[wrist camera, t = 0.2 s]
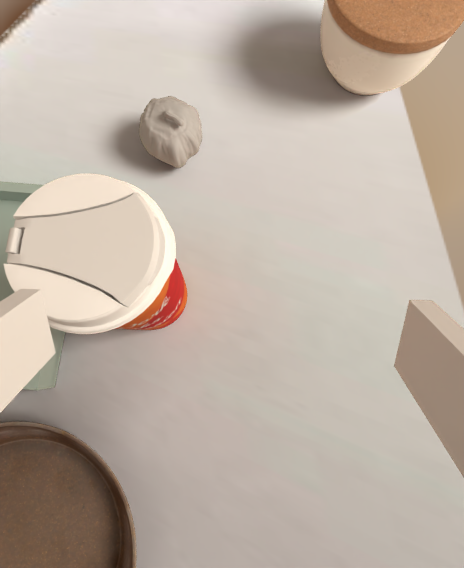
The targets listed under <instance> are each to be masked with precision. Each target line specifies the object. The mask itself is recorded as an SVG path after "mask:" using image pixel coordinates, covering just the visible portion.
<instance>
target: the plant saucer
mask: <svg viewBox="0 0 464 568" xmlns="http://www.w3.org/2000/svg"><path fill="white" fill-rule="evenodd" d="M0 568H136V536H135V528H134V523H133V518H132V514H131V510H130V507H129V504H128V501H127V498H126V496H125V494H124V491H123V489H122V487H121V485H120V483H119V482H118V480H117V478H116V476H115V475H114V473H113V472H112V470H111V469H110V468H109V466H108V465H107V464H106V463H105V461H104V460H103V459H102V458H101V457H100V456H99V455H98V454H97V453H96V452H95V451H94V450H93V449H92V448H91V447H89V446H88V445H87V444H86V443H84V442H83V441H81V440H80V439H78V438H77V437H75V436H74V435H72V434H70V433H68V432H66V431H63V430H61V429H58V428H56V427H52V426H49V425H44V424H39V423H34V422H4V423H0Z"/></svg>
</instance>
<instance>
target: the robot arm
mask: <svg viewBox="0 0 464 568" xmlns="http://www.w3.org/2000/svg"><path fill="white" fill-rule="evenodd" d="M55 353H56V352H55V347H54V343H53V339H52V335H51V331H50V326H49V322H48V318H47V314H46V310H45V305H44V301H43V297H42V293H41V289H19V290H18V291H16V292H14V293H13V294H11V295H10V296H8V297H7V298H5V299H4V300H2V301H0V413H1V412H2V410H3V409H4V408H5V407H6V406H7V405H8V404H9V403H10V402H11V401H12V400H13V399H14V397H15V396H16V395H17V394H18V393H19V392H20V391H21V390H22V389H23V388H24V387H25V386H26V384H27V383H28V382H29V381H30V380H31V379H32V378H33V377H34V376H35V375H36V374H37V373H38V371H39V370H40V369H41V368H42V367H43V366H44V365H45V364H46V363H47V362H48V361H49V360H50V358H51V357H52V356H53V355H54V354H55ZM394 366H395V368H396V370H397V371H398V373H399V374H400V376H401V378H402V379H403V381H404V382H405V384H406V386H407V387H408V389H409V391H410V392H411V394H412V395H413V397H414V399H415V400H416V402H417V403H418V405H419V407H420V408H421V410H422V411H423V413H424V415H425V416H426V418H427V419H428V421H429V423H430V424H431V426H432V427H433V429H434V431H435V432H436V434H437V435H438V437H439V439H440V440H441V442H442V443H443V445H444V447H445V448H446V450H447V451H448V453H449V455H450V456H451V458H452V460H453V461H454V463H455V464H456V466H457V468H458V469H459V471H460V472H461V474H462V476H463V477H464V329H463V328H462V327H461V326H460V325H459V324H458V323H457V322H456V321H455V320H453V319H452V318H451V317H450V316H449V315H448V314H447V313H446V312H445V311H443V310H442V309H441V308H440V307H439V306H438V305H437V304H436V303H435V302H433V301H431V300H409V304H408V309H407V313H406V317H405V321H404V326H403V330H402V334H401V338H400V343H399V347H398V351H397V355H396V360H395V364H394Z"/></svg>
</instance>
